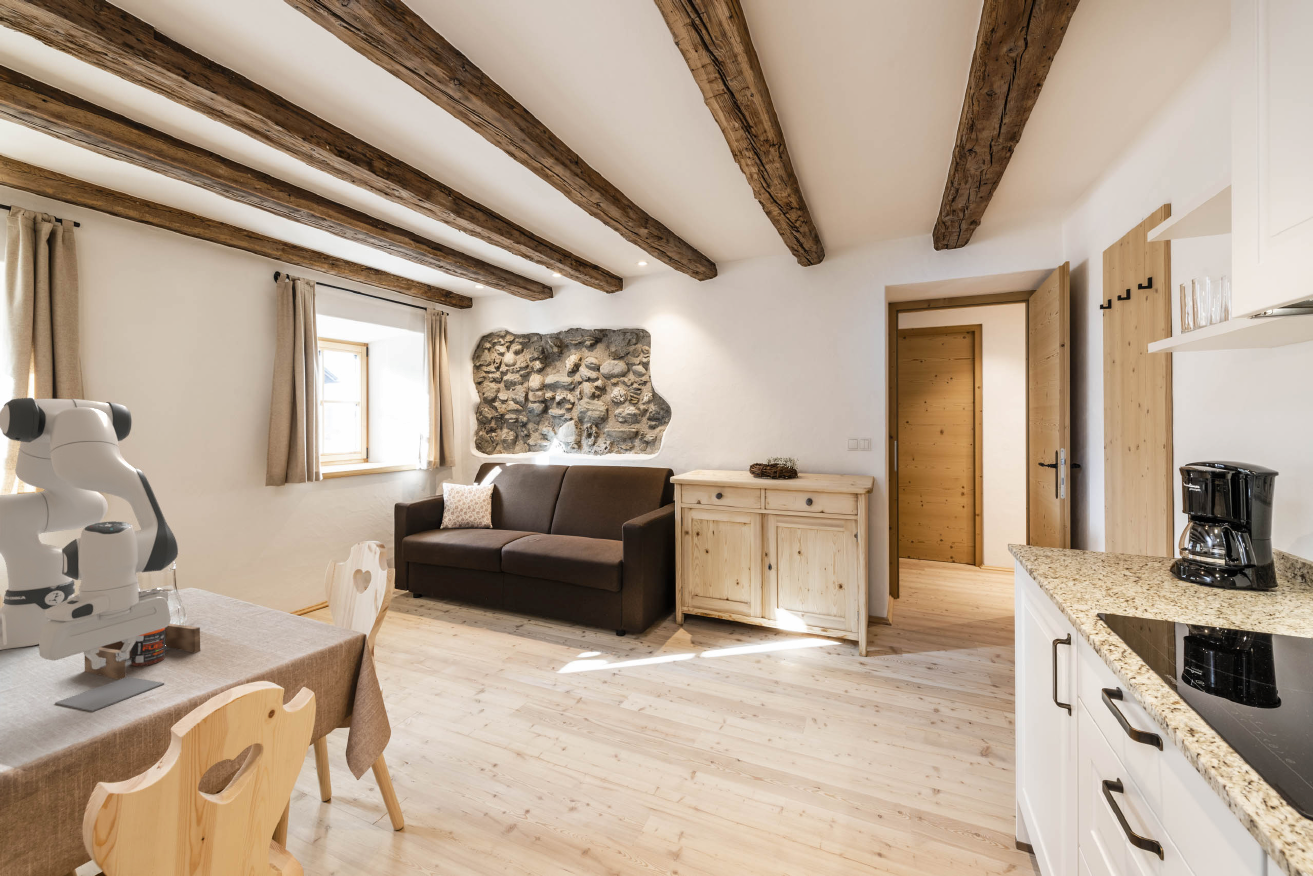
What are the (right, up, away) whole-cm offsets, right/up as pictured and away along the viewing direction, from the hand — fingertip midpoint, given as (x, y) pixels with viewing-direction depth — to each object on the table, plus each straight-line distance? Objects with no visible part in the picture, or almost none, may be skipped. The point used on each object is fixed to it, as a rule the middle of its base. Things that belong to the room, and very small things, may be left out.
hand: (111, 663), depth 112 cm
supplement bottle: (-7, -7, +16) cm, 19 cm away
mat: (0, -6, 0) cm, 6 cm away
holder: (-8, -7, +16) cm, 19 cm away
